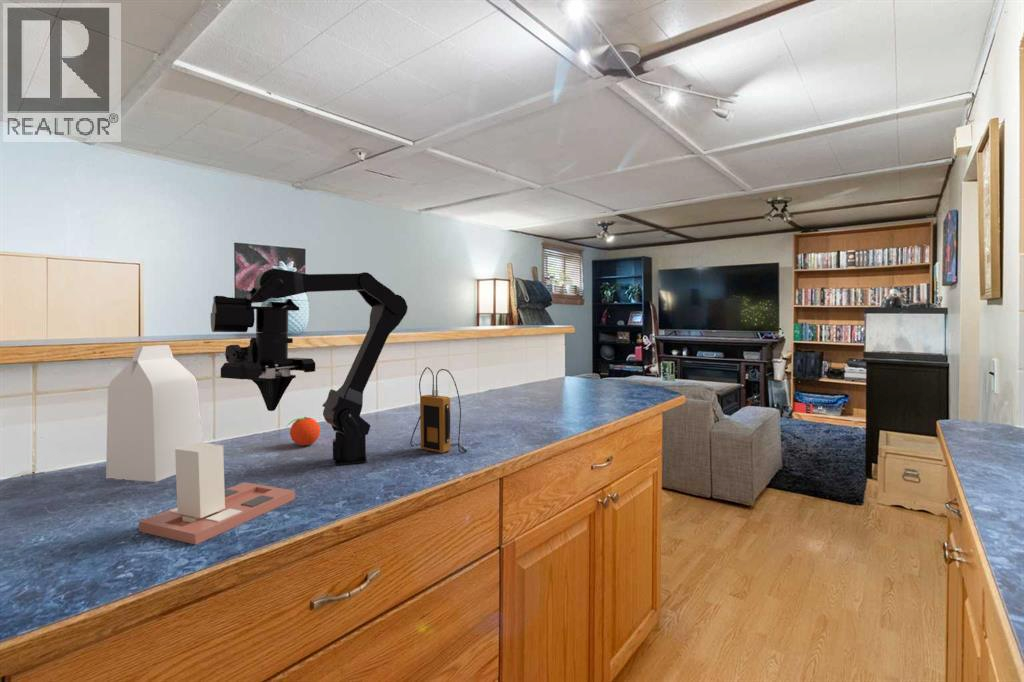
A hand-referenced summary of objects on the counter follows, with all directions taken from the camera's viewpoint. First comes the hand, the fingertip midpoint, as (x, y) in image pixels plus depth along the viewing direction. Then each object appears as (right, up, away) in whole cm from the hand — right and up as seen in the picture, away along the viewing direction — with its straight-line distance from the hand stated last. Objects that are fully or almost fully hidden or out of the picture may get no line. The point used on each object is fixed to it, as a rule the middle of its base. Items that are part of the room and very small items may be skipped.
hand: (271, 410), depth 96 cm
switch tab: (0, -14, -22) cm, 26 cm away
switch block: (+1, -14, -18) cm, 23 cm away
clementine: (-4, -12, +23) cm, 26 cm away
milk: (-25, -13, +4) cm, 29 cm away
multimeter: (+32, -12, +22) cm, 40 cm away
